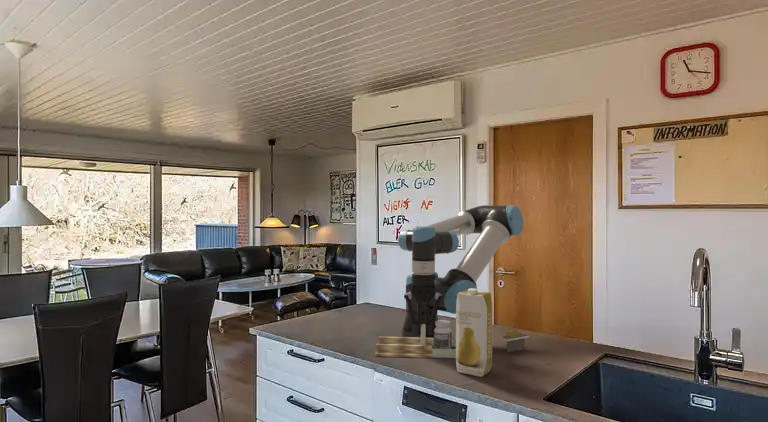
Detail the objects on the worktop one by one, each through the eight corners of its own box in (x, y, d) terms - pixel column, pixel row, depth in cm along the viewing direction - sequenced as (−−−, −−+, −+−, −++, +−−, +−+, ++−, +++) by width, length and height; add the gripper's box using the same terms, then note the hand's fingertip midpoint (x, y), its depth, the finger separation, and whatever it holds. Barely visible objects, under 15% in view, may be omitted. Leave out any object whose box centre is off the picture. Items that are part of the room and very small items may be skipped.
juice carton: (452, 372, 141) (453, 288, 141) (464, 365, 148) (465, 285, 148) (483, 379, 136) (484, 291, 136) (494, 371, 142) (495, 288, 142)
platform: (481, 351, 165) (481, 331, 165) (519, 343, 174) (519, 324, 174) (508, 360, 155) (508, 339, 155) (546, 351, 164) (547, 332, 164)
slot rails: (431, 344, 170) (431, 336, 170) (432, 357, 155) (432, 348, 155) (379, 343, 172) (379, 334, 172) (375, 356, 156) (375, 346, 156)
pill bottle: (441, 348, 166) (441, 318, 166) (455, 351, 162) (455, 321, 162) (430, 352, 162) (430, 321, 161) (444, 355, 158) (444, 324, 158)
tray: (473, 346, 168) (473, 339, 168) (477, 358, 155) (477, 350, 155) (431, 345, 170) (431, 337, 170) (432, 357, 156) (432, 349, 156)
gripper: (403, 274, 159) (403, 348, 159) (444, 275, 159) (443, 348, 159) (403, 271, 167) (403, 341, 167) (442, 272, 166) (441, 342, 166)
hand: (422, 345), depth 163 cm, fingers closed
